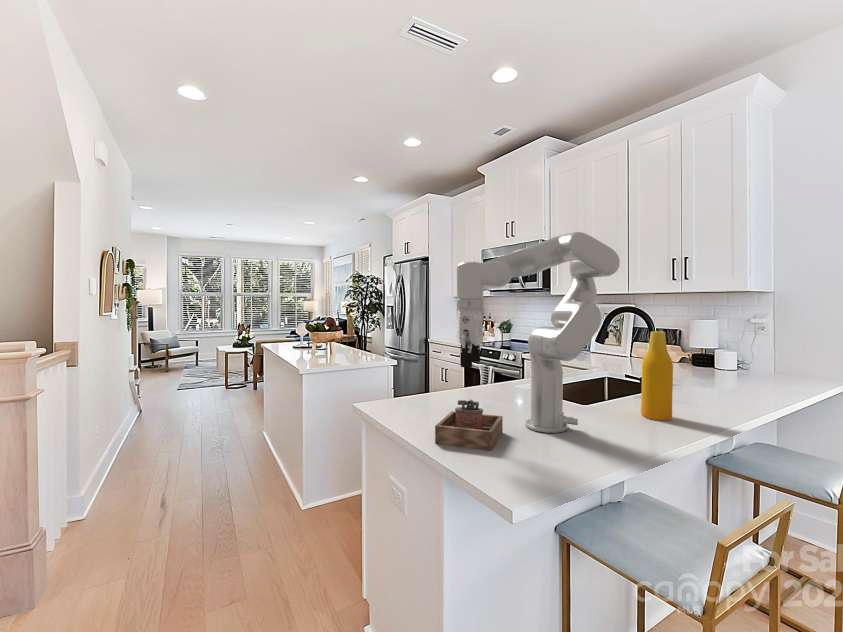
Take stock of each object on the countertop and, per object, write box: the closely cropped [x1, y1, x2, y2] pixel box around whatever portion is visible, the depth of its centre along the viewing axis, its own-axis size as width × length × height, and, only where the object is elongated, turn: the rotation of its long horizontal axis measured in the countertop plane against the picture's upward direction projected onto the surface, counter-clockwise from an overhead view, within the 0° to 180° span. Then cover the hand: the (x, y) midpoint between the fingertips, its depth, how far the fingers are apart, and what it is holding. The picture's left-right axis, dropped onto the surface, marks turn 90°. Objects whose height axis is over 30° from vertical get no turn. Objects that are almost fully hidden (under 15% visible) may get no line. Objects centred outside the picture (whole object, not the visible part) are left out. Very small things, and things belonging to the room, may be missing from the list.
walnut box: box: [434, 410, 504, 452], centre depth 121 cm, size 16×16×5 cm
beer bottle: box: [640, 331, 674, 422], centre depth 140 cm, size 9×9×29 cm
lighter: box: [454, 399, 484, 430], centre depth 120 cm, size 8×3×10 cm, turn 78°
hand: (470, 364), depth 120 cm, fingers open, 9 cm apart
